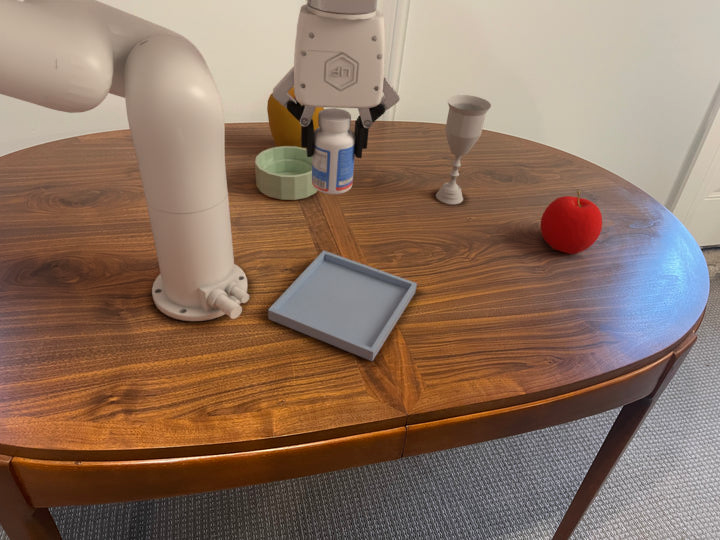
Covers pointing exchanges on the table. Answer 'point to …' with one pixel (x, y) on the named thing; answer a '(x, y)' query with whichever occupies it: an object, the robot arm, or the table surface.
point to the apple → (286, 122)
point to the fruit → (571, 224)
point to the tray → (344, 304)
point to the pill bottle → (333, 152)
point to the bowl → (284, 173)
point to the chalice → (461, 137)
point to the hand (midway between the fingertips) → (333, 151)
